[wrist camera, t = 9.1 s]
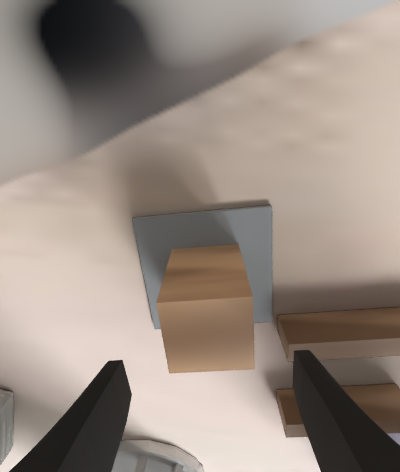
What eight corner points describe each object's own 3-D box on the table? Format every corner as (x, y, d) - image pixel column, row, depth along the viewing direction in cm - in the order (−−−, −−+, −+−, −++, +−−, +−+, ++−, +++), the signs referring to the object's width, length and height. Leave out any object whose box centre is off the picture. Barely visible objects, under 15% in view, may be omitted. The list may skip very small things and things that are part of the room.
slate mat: (270, 318, 21) (272, 321, 20) (155, 325, 21) (154, 329, 21) (270, 204, 17) (272, 206, 17) (133, 217, 18) (132, 219, 17)
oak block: (240, 300, 20) (254, 369, 14) (179, 304, 20) (169, 373, 14) (238, 244, 18) (252, 296, 12) (171, 249, 18) (156, 302, 13)
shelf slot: (392, 396, 23) (418, 432, 21) (276, 401, 24) (286, 437, 21) (414, 306, 20) (448, 335, 17) (277, 315, 20) (288, 344, 18)
